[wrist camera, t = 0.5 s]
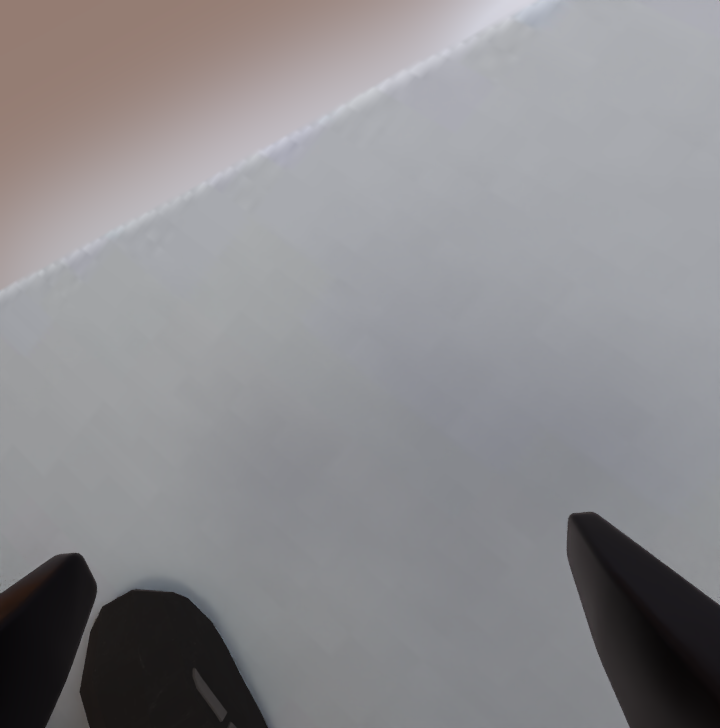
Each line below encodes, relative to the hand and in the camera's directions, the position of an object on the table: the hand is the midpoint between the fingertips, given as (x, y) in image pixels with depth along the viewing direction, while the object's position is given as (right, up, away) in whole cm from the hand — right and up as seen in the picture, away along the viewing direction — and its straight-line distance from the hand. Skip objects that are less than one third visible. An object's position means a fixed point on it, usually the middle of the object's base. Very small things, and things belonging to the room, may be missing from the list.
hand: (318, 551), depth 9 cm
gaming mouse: (-7, -14, +15) cm, 22 cm away
